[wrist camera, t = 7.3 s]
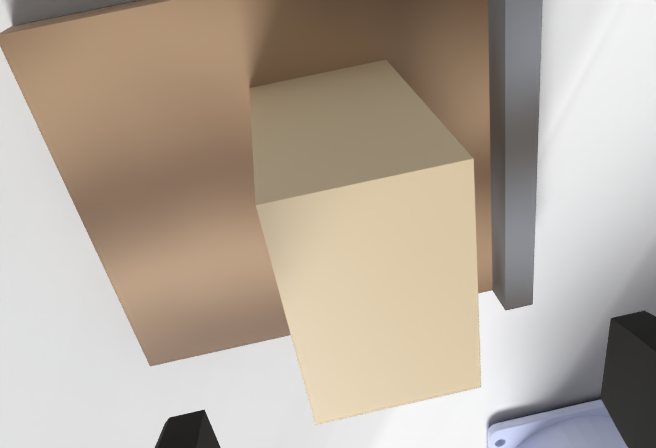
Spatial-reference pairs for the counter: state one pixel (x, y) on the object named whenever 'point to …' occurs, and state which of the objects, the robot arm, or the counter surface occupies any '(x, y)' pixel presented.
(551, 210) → the counter surface
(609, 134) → the counter surface
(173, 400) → the counter surface
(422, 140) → the box
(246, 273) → the tan tray
